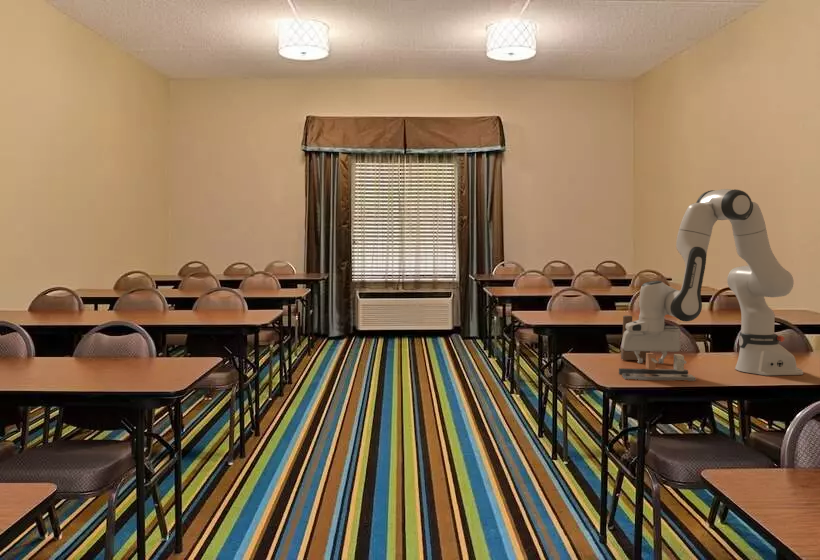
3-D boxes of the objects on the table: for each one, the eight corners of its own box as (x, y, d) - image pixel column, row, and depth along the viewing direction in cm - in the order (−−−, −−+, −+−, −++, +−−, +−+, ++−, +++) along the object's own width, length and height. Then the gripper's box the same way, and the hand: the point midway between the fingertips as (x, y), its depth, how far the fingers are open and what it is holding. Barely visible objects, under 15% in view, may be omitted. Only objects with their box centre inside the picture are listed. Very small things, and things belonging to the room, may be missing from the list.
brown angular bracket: (650, 361, 282) (651, 316, 280) (622, 360, 283) (623, 316, 281) (648, 359, 285) (649, 315, 284) (620, 359, 286) (621, 315, 285)
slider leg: (652, 367, 258) (652, 352, 258) (659, 372, 248) (659, 357, 248) (645, 367, 259) (646, 352, 258) (652, 372, 249) (652, 357, 248)
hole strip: (691, 377, 250) (691, 374, 250) (695, 380, 245) (695, 377, 245) (621, 376, 252) (621, 372, 252) (624, 379, 247) (624, 375, 247)
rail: (685, 373, 257) (685, 354, 257) (693, 379, 248) (694, 359, 247) (618, 372, 260) (618, 353, 259) (623, 378, 250) (624, 358, 249)
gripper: (678, 324, 257) (677, 362, 258) (621, 324, 259) (620, 361, 260) (683, 327, 251) (682, 365, 252) (624, 326, 253) (624, 364, 254)
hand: (650, 363), depth 256 cm, fingers open, 6 cm apart
